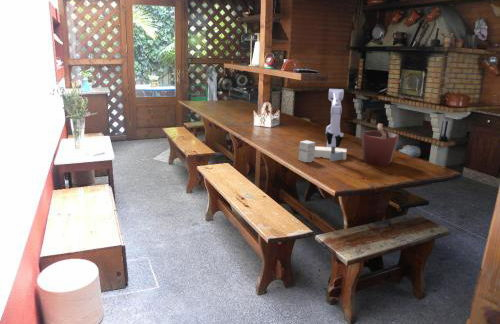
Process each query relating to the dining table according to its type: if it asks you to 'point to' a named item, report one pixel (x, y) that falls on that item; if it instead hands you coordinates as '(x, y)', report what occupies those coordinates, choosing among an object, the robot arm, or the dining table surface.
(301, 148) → the supplement box
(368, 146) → the bucket
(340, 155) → the flap
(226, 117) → the dining table surface
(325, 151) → the carton
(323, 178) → the dining table surface
